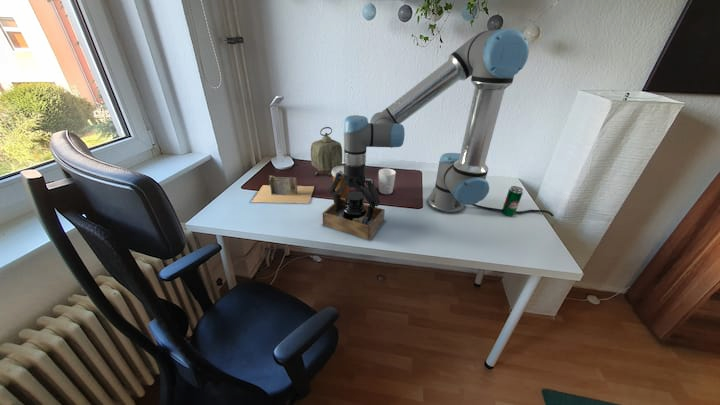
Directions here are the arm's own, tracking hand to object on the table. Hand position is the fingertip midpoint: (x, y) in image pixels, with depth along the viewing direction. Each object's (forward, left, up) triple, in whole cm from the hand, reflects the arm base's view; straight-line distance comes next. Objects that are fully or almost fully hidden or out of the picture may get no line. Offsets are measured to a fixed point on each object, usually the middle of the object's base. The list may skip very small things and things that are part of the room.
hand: (353, 215), depth 104 cm
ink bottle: (0, -1, -4) cm, 4 cm away
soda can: (-54, -37, -4) cm, 66 cm away
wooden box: (0, 0, -4) cm, 4 cm away
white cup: (-1, -31, -4) cm, 31 cm away
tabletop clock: (+33, -34, -4) cm, 47 cm away
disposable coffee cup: (+16, -19, -4) cm, 25 cm away
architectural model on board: (+39, -6, -4) cm, 40 cm away
